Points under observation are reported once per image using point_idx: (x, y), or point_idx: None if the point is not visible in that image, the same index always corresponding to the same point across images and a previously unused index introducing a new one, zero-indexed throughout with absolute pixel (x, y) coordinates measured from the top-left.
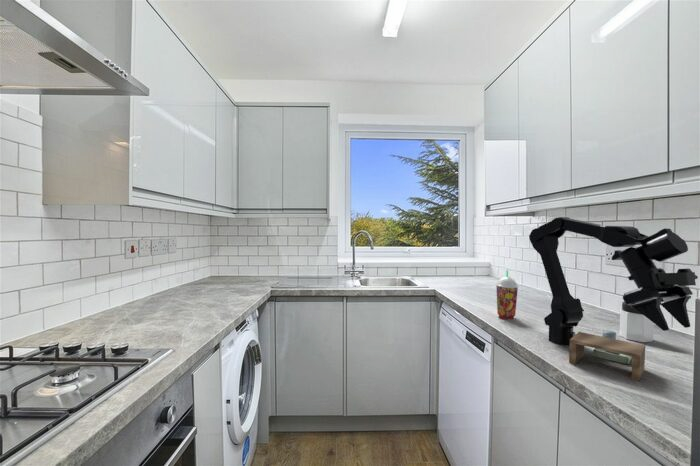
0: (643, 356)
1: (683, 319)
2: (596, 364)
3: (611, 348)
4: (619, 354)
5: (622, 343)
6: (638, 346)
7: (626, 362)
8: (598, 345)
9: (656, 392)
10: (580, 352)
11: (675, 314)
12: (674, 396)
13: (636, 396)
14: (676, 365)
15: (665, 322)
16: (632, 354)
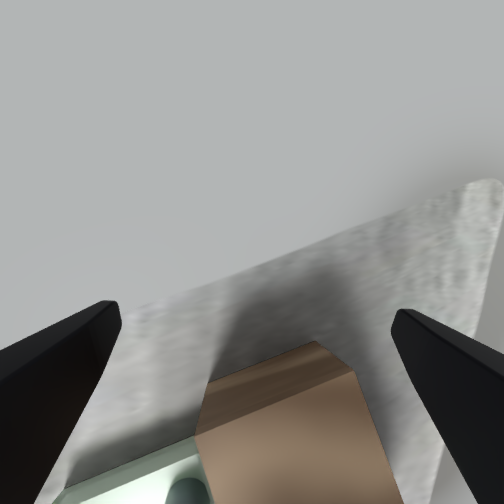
0: (247, 396)
1: (82, 356)
2: None
3: (385, 468)
4: (181, 492)
5: (266, 495)
6: (242, 439)
7: None
8: None
9: (323, 297)
10: None
11: (35, 455)
12: (305, 267)
13: (393, 305)
14: None
15: (458, 336)
16: (361, 392)
